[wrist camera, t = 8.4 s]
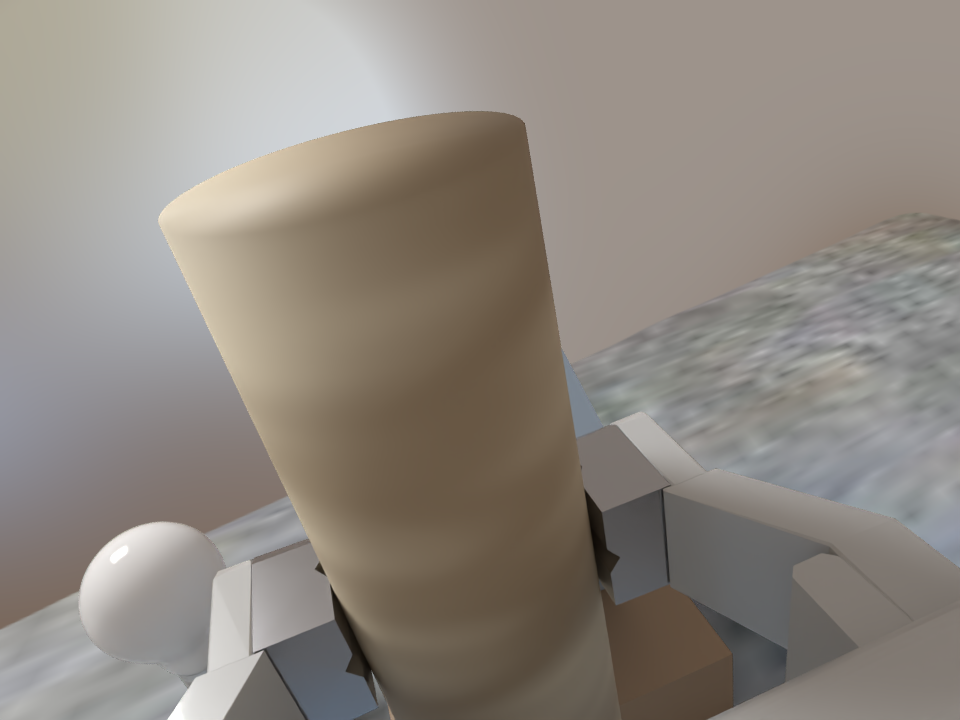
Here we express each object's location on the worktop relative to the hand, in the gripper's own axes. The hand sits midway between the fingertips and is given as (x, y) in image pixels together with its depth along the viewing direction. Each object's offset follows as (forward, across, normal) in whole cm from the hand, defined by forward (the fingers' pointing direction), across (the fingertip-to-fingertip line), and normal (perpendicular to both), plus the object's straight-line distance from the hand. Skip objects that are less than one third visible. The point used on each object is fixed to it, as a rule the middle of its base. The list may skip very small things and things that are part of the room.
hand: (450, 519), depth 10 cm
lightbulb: (+19, -13, -23) cm, 33 cm away
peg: (-1, 0, -7) cm, 7 cm away
